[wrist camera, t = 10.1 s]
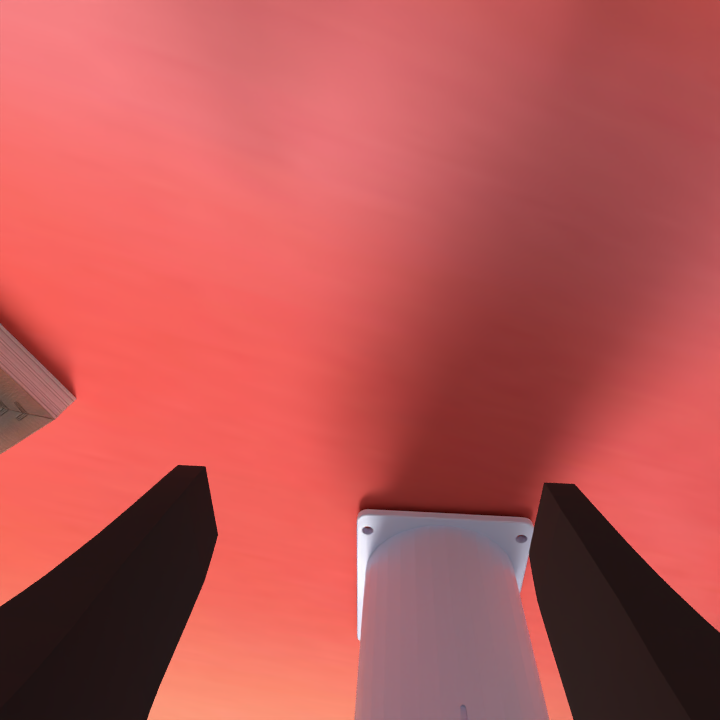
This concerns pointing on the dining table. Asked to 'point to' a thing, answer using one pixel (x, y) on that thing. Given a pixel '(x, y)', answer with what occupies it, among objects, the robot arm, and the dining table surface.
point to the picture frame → (26, 393)
